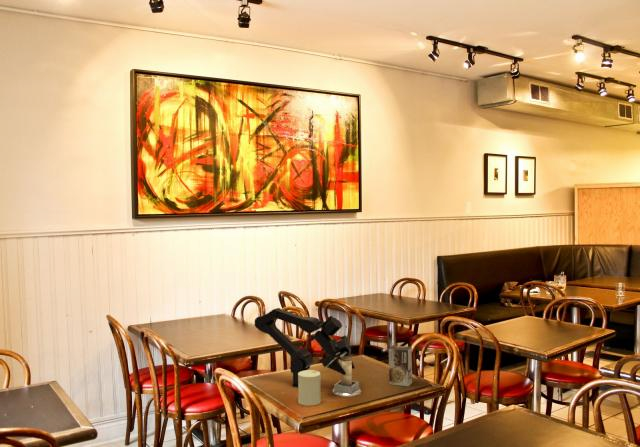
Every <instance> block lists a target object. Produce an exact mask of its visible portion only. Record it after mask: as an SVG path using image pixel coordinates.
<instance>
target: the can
mask: <svg viewBox="0 0 640 447" xmlns="http://www.w3.org/2000/svg"><path fill="white" fill-rule="evenodd" d="M297 398H298V400H297V402H298V404H299V405H301V406H305V407H306V406H307V407H311V406H316V405H319V404H321V402H322V399H321V372H320V371H318V370H313V369H307V370H305V371H301V372H299V373H298V397H297Z"/></svg>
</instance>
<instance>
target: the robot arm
mask: <svg viewBox="0 0 640 447" xmlns="http://www.w3.org/2000/svg"><path fill="white" fill-rule="evenodd" d="M276 320H280V321H284V322H286V323H288V324H291V325H295V326H297V327H298V328H299V329H300V330H301V331H303V332H305V333H306V334H307V333H308V334H310V339H309V340H310V342H313V341H316V343H317V344H318V345H319V346H320V348H321V349H320V350H321V352H325V353H326V356H325V357H324V359H322V361H321V365H322V366H323V367H324V368H327V369H331V370H333V371H335V372H337V373H339V374H343V375H345V374H346V372H345V371H344V369H343V368H342V366H341V363H340V361H341V357H343V356H350V357H351V352H352V350H351V349H352V347H351V343H350V341H351V339H350V338H349V337H348V336H347V335H342V336H341V337H340V339H339V340H336V339H335V338H334V339H333V338H332V337H333V336H335V334H336V333H337V332H339V330H341V329H342V327H343V325H342V324H343V323H342V322H341V321H340V320H339V319H337V318H336V317H333V315H329V316H328V317H327V319H326V320H325V321H322V320H320V319H319V318H317V317H314V316H313V317H312V316H302V315H300V314H297V313H292V312H290V311H288V310H283V309H282V308H280V307H276V308H274V309H272V310H270V311H269V312H267V313H265V314H263V315H262V314H261V315H260V316H257V317H256V318H254V327H255V328H256V329H257V330H258V331H260V332H262V333H264V334H267V335H269V337H271V338H272V340H274V342H276V343H277V344H278V345H279V346H280V348H282V349H283V350H284V351H285V352H286V353H287V354H288V355H289V356H290V358H291V361H292V363H293V364H292V365H291V366H290V368H289V369H290V372H291V373H292V385H291V387H296V388H297V387H298V373H299V372H301V371H305V370H310V369H311V366H312V365H313V363H314V358H313V355H312V353H311V352H310V351H308V349H307V348H306V347H303V348H299V347H298V346H297V345H296V344H295V343H294V342H293V341H292V340H290V339H289V338H288V337H287V336H286V335H285V334H284V332H282V331H281V330H280V329H279V328H278V327H277V325H276V322H275V321H276ZM314 332H315V333H314ZM353 362H354V361H352V370H354V369H355V368H356V367H355V364H354V363H353Z"/></svg>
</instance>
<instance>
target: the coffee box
mask: <svg viewBox="0 0 640 447" xmlns="http://www.w3.org/2000/svg"><path fill="white" fill-rule="evenodd" d="M412 350H413V348H412V346H405V345H392V346H391V345H390V347H389V348H388V378H389V380H388V384H389V385H391V386H392V385H393V386H400V387H402V386H403V387H408V388H409V387H410V386H411V385H412V384H413V355H412V353H413V351H412Z"/></svg>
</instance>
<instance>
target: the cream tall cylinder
mask: <svg viewBox="0 0 640 447" xmlns="http://www.w3.org/2000/svg"><path fill="white" fill-rule="evenodd" d="M340 359H341V360H340V362H341V363H340V365H341V366H342V368H343V369H344V371H345V372H346V374H345V375H343V374H341V373H340V374H341V377H340V378H341V379H340V380H341V385H344V386H352V381H353V379H352V378H353V369H352V362H353V360H352V359H353V357H352V356H351V355H350V356H343V357H341V358H340Z"/></svg>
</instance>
